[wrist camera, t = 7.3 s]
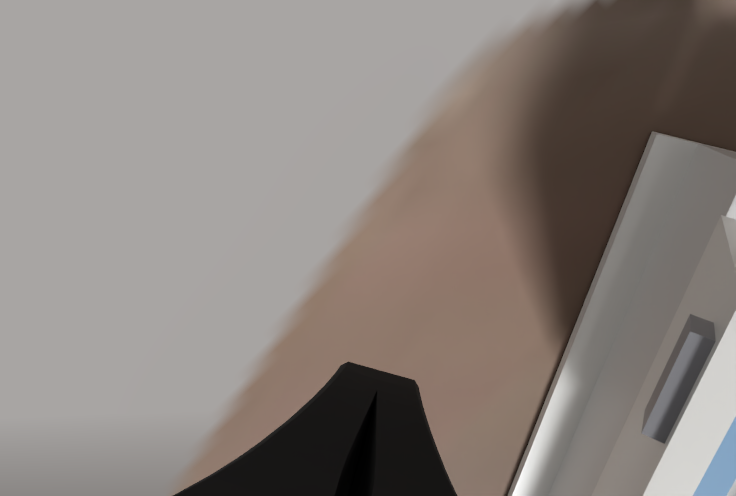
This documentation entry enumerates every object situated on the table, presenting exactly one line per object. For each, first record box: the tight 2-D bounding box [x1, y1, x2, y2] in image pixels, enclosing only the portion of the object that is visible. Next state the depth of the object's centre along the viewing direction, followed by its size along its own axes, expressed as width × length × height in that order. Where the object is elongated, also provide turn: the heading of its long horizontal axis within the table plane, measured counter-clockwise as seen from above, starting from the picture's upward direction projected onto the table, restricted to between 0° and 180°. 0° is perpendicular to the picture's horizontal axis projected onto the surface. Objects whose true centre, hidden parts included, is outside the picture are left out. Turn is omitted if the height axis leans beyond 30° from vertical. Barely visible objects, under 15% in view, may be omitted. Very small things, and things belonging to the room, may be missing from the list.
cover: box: [591, 215, 736, 496], centre depth 11 cm, size 6×9×1 cm
